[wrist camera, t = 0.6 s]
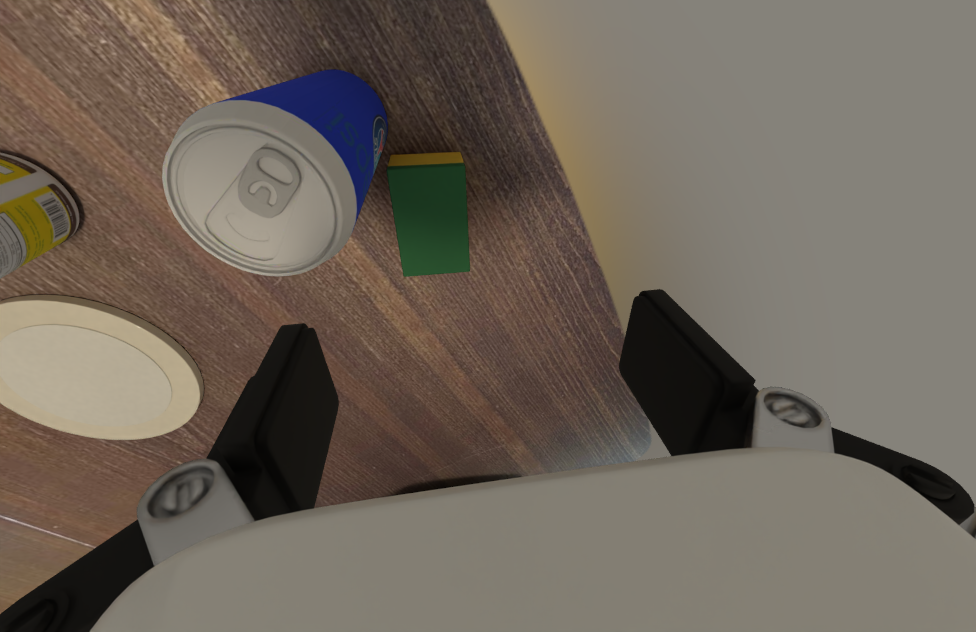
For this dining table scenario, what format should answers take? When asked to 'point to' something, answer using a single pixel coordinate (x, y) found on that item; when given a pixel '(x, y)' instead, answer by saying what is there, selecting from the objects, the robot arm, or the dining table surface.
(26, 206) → the supplement bottle
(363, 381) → the dining table surface
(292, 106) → the beverage can
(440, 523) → the robot arm
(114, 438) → the plate
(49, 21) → the dining table surface
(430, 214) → the sponge
